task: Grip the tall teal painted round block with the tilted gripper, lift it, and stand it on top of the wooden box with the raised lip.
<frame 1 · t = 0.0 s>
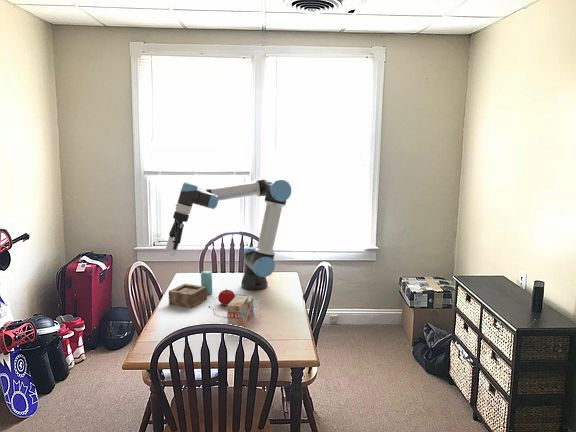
hand: (170, 252, 256), 28 cm above the table, tool tilted 20°, fingers open, 13 cm apart
wooden box: (188, 302, 265), on the table
printed cardboard box: (241, 322, 238), on the table
tomato: (226, 304, 262), on the table
teal round block: (206, 293, 279), on the table
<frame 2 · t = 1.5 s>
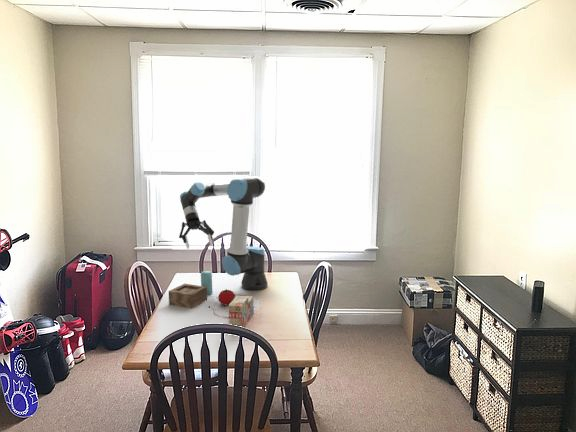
hand: (200, 246, 283), 25 cm above the table, tool tilted 45°, fingers open, 13 cm apart
nothing on the table moved.
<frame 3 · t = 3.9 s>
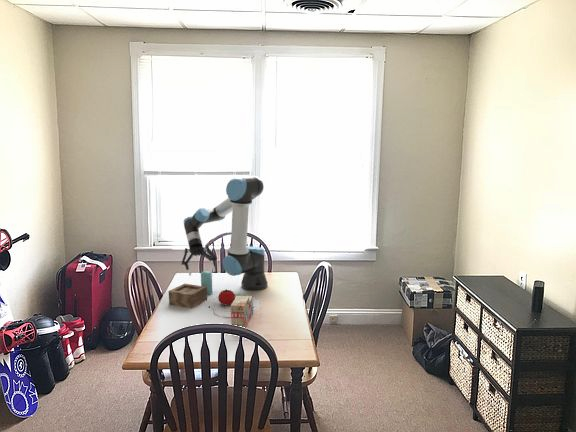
hand: (202, 273, 281), 10 cm above the table, tool tilted 45°, fingers open, 13 cm apart
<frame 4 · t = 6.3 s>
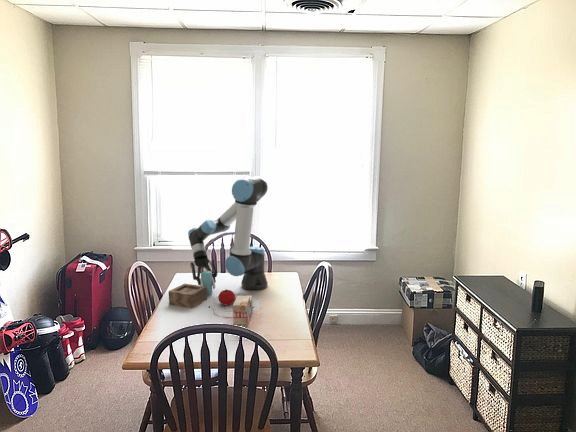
hand: (208, 288, 275), 4 cm above the table, tool tilted 45°, fingers closed on teal round block, 6 cm apart
teal round block: (206, 293, 279), on the table, touching gripper
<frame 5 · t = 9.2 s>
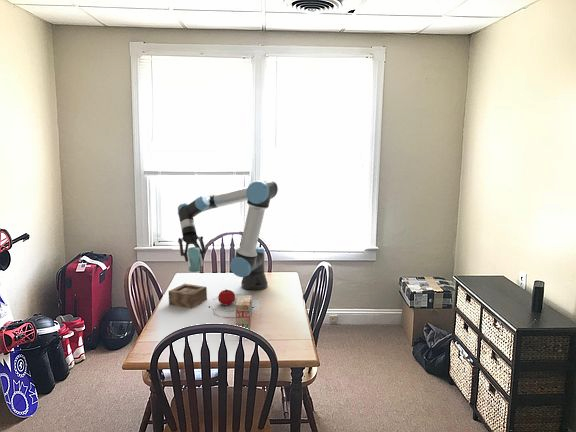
hand: (195, 265, 267), 18 cm above the table, tool tilted 45°, fingers closed on teal round block, 6 cm apart
teal round block: (194, 270, 271), point 15 cm above the table, touching gripper
when the fingers open (11 cm above the table, at t = 11.9 s): teal round block drops 1 cm, resting on wooden box.
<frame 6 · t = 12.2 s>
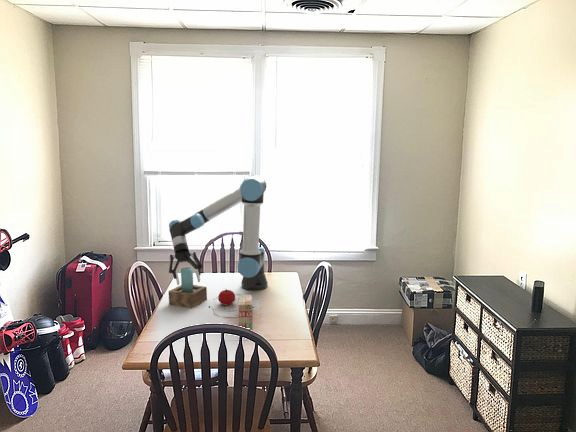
hand: (188, 282, 260), 12 cm above the table, tool tilted 45°, fingers open, 10 cm apart
teal round block: (187, 291, 264), point 6 cm above the table, touching wooden box
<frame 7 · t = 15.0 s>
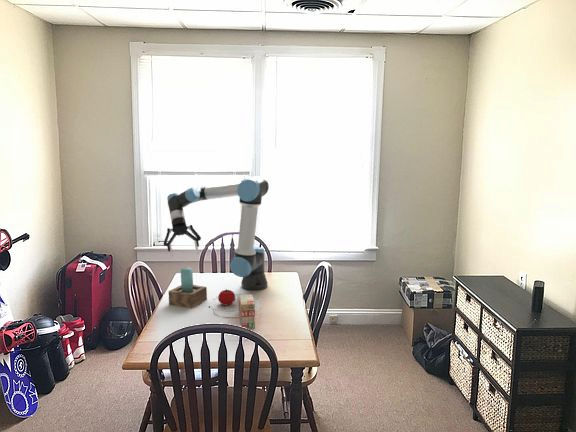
hand: (184, 254, 272), 23 cm above the table, tool tilted 35°, fingers open, 13 cm apart
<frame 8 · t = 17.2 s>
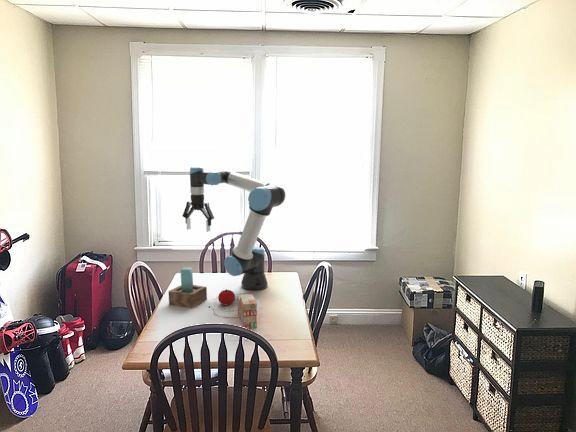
hand: (198, 230, 291), 32 cm above the table, tool pointing down, fingers open, 13 cm apart
at the end: teal round block inside the target area on the wooden box (0.2 cm from its centre), point 6.1 cm above the wooden box's base; teal round block tilted 1°; the gripper is holding nothing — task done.
